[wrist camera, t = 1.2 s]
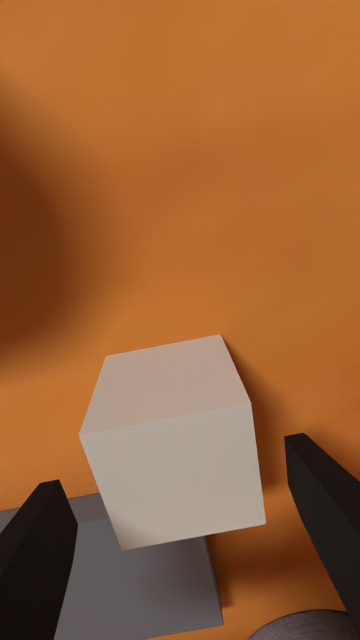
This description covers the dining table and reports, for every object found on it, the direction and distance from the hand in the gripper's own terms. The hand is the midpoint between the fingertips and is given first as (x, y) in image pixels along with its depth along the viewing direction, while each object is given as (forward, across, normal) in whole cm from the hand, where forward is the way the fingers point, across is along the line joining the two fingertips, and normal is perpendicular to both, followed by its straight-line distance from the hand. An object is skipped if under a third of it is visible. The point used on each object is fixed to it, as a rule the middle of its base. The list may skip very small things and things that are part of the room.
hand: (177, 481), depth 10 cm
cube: (+5, 0, 0) cm, 5 cm away
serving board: (+5, +7, +10) cm, 13 cm away
